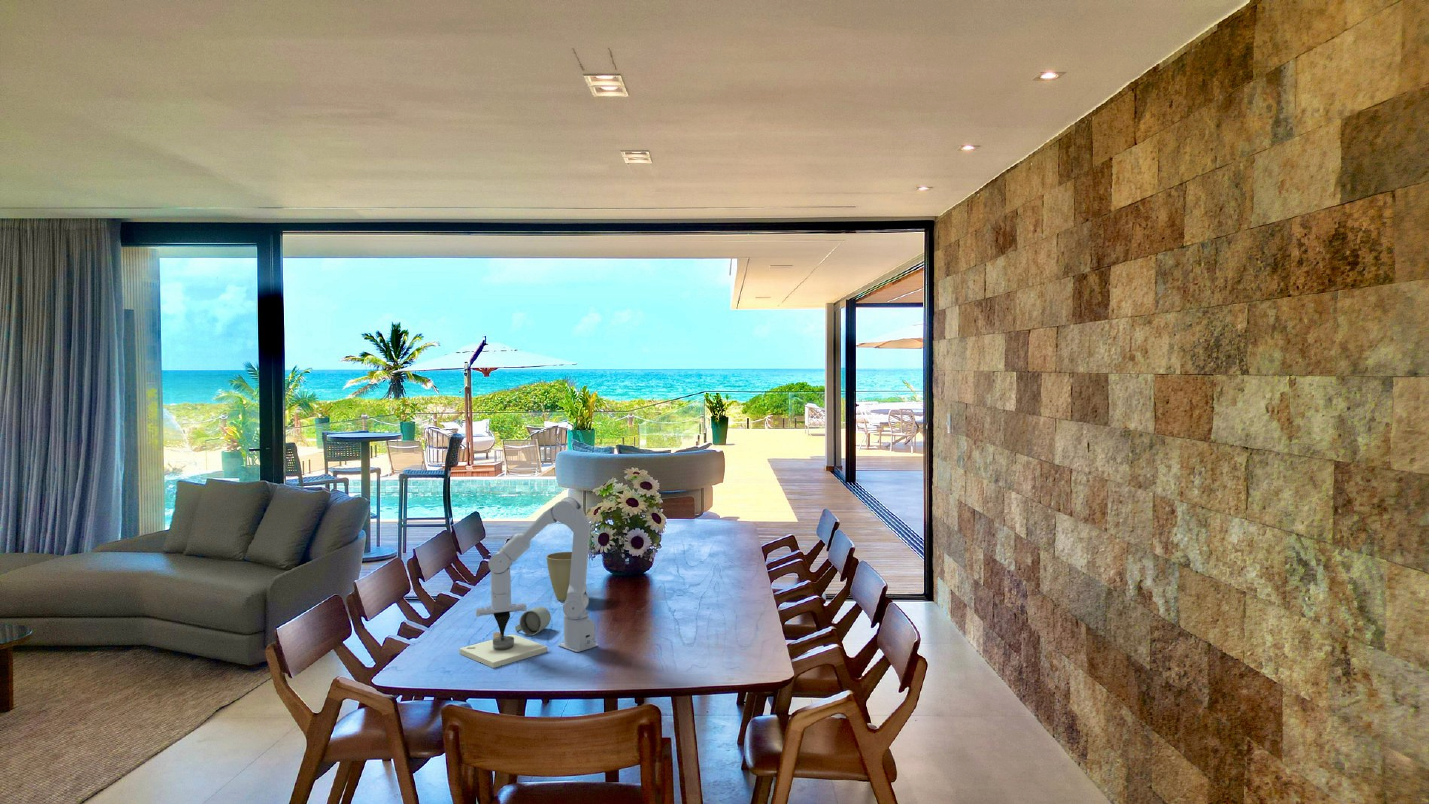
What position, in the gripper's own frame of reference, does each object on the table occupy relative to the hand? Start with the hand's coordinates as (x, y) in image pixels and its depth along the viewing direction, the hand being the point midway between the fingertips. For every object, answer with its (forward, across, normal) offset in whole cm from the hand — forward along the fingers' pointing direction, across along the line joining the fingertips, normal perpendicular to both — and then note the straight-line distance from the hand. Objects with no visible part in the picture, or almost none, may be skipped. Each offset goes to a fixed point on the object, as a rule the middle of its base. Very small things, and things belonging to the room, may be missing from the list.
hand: (501, 637), depth 233 cm
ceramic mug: (+3, -11, -11) cm, 16 cm away
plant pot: (+3, -29, -46) cm, 55 cm away
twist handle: (+1, +1, +4) cm, 4 cm away
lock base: (+3, 0, +6) cm, 7 cm away
